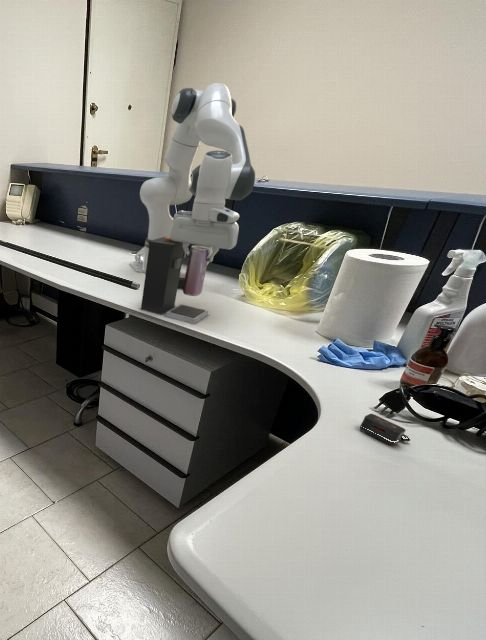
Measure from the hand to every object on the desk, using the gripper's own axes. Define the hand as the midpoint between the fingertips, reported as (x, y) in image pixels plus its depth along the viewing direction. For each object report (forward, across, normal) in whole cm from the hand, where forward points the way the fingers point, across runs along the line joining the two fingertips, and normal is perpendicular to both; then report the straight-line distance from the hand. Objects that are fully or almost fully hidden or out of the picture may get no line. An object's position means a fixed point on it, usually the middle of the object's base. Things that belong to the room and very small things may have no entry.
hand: (198, 259), depth 129 cm
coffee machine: (+19, -5, 0) cm, 19 cm away
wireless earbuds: (+19, +58, -39) cm, 72 cm away
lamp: (+19, -16, +32) cm, 40 cm away
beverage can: (+11, 0, 0) cm, 11 cm away
